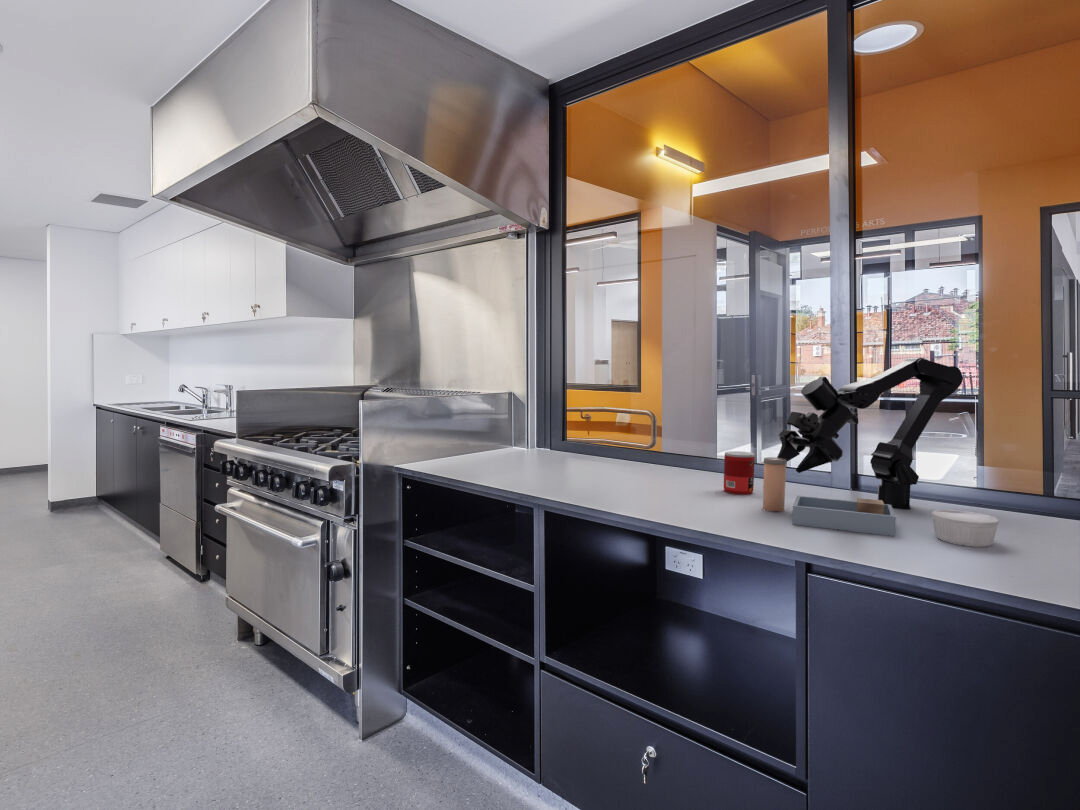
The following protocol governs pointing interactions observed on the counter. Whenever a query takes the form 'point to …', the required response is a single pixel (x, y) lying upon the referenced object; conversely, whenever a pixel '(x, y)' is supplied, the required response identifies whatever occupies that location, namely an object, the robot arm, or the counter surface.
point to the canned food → (739, 472)
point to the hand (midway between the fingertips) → (786, 468)
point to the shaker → (774, 484)
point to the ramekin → (964, 527)
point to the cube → (870, 506)
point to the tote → (841, 516)
